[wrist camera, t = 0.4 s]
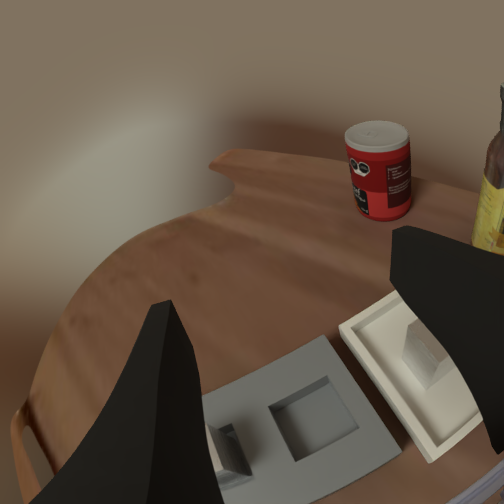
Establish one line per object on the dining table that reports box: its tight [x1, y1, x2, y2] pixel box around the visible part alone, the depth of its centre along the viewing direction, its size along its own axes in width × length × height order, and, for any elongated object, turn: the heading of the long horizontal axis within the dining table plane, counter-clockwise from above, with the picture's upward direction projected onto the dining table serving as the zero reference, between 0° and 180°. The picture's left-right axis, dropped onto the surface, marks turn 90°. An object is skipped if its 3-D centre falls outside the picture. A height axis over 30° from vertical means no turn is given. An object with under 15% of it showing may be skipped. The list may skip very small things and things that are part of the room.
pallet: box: [202, 334, 402, 504], centre depth 23 cm, size 13×18×3 cm
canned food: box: [345, 121, 411, 221], centre depth 37 cm, size 8×8×11 cm
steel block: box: [402, 318, 456, 390], centre depth 22 cm, size 4×4×6 cm
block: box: [205, 423, 251, 488], centre depth 21 cm, size 4×4×6 cm
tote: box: [339, 290, 483, 464], centre depth 24 cm, size 16×11×2 cm
